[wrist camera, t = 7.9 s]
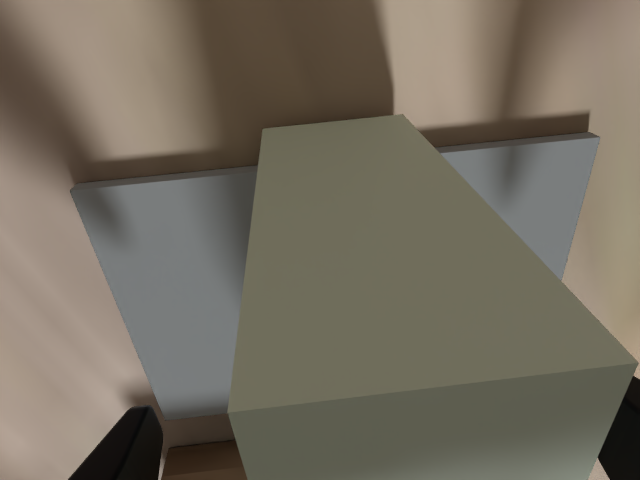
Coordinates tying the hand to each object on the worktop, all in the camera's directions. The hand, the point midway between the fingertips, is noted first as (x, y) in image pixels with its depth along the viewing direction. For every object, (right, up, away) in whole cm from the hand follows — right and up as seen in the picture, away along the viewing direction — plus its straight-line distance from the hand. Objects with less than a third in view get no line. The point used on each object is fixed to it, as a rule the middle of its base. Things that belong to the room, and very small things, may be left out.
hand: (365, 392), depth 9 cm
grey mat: (0, +2, +3) cm, 3 cm away
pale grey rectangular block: (0, +1, +3) cm, 3 cm away
